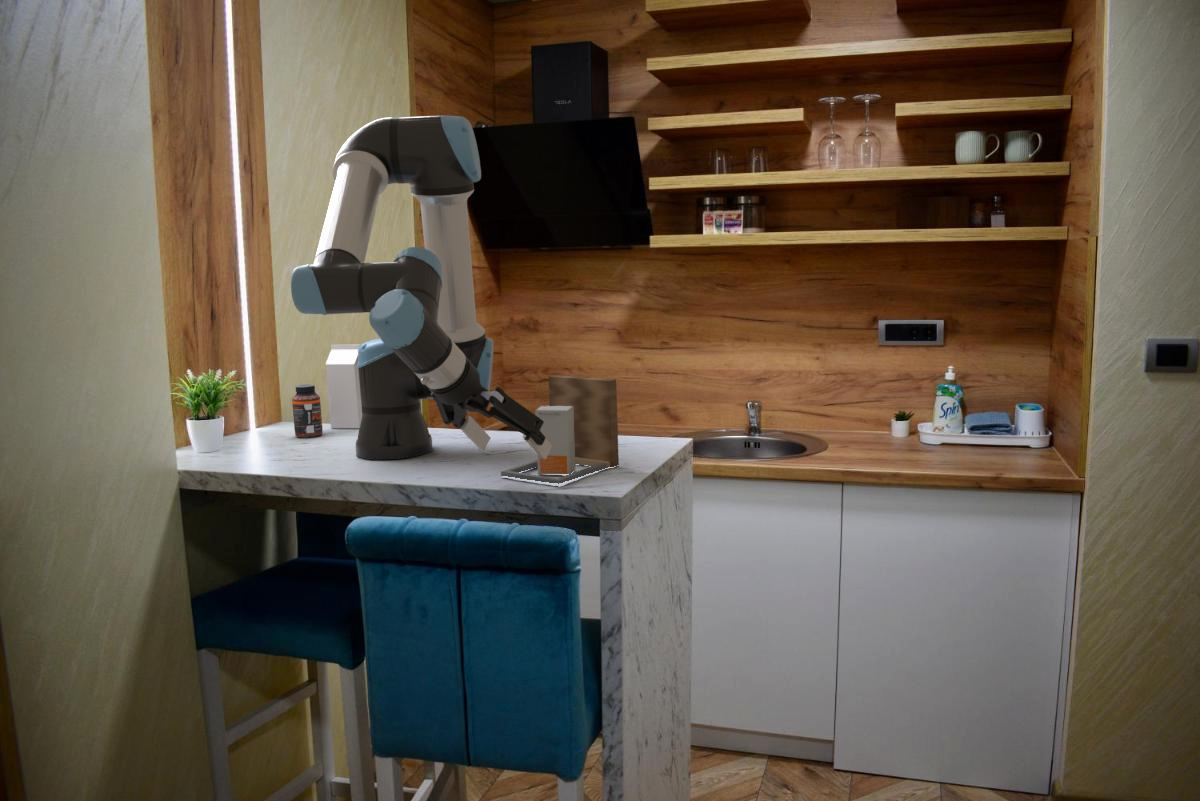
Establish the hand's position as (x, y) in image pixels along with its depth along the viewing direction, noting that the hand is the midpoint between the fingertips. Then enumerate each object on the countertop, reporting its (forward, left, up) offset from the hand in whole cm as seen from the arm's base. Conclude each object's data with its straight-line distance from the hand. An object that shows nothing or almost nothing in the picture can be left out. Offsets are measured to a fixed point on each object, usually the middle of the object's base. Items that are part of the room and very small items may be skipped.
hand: (515, 448), depth 157 cm
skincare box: (0, +10, -7) cm, 13 cm away
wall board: (0, +19, -7) cm, 20 cm away
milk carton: (-70, +23, -7) cm, 74 cm away
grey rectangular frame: (0, +11, -7) cm, 13 cm away
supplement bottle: (-70, +11, -7) cm, 71 cm away
